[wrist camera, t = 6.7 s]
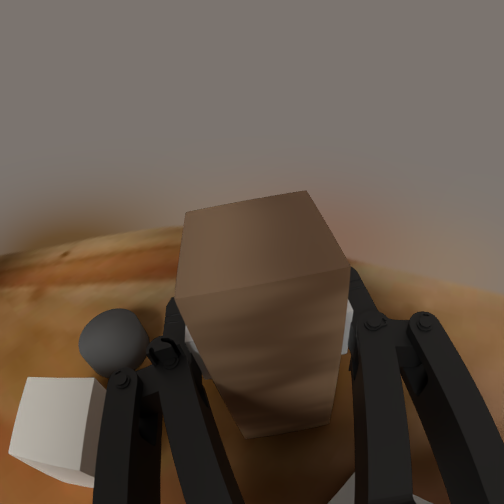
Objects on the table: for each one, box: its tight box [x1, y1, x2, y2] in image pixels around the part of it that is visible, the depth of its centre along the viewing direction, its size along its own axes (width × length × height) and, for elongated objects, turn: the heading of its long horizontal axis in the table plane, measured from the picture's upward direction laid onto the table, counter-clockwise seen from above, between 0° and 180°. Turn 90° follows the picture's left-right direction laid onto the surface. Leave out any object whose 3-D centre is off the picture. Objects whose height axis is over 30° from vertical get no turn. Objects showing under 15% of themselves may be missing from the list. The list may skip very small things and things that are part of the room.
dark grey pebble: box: [79, 309, 149, 378], centre depth 20 cm, size 5×5×2 cm
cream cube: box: [8, 377, 106, 488], centre depth 12 cm, size 5×5×5 cm
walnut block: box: [174, 191, 351, 439], centre depth 13 cm, size 4×4×11 cm
